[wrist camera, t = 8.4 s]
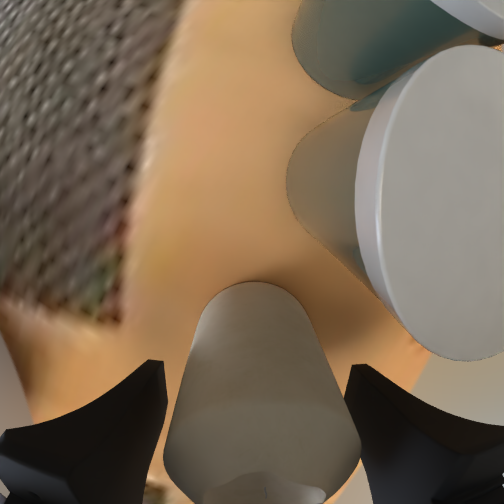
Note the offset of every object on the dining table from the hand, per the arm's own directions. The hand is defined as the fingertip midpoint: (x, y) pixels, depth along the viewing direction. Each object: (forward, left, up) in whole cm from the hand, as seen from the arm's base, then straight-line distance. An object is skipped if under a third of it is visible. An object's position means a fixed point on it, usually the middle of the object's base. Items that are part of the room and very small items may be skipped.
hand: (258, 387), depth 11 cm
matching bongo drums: (+11, -4, -4) cm, 12 cm away
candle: (0, 0, -4) cm, 5 cm away
